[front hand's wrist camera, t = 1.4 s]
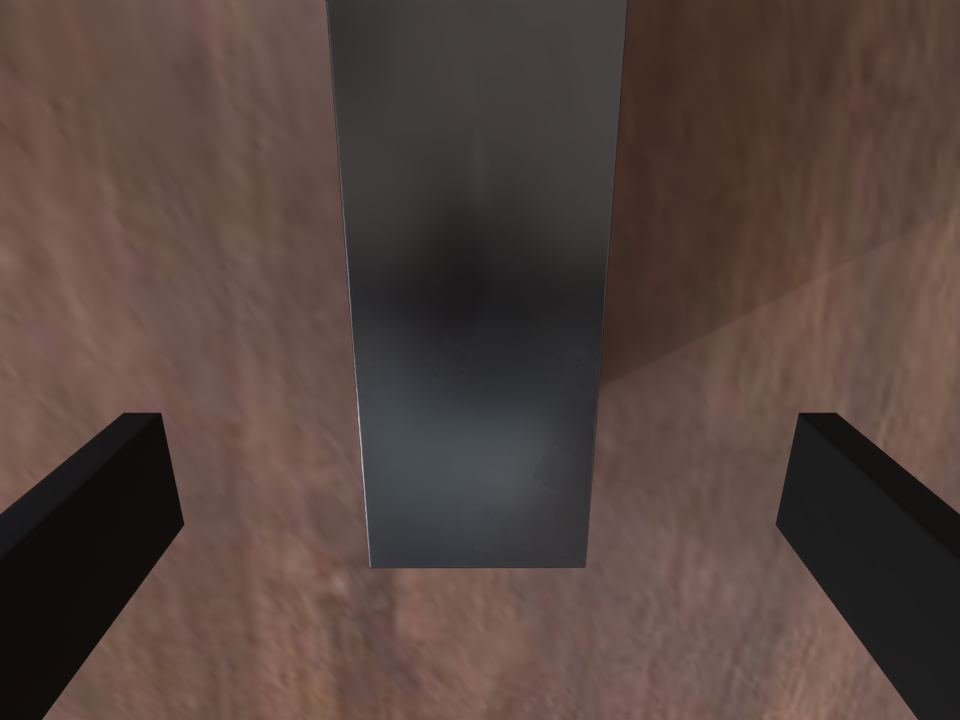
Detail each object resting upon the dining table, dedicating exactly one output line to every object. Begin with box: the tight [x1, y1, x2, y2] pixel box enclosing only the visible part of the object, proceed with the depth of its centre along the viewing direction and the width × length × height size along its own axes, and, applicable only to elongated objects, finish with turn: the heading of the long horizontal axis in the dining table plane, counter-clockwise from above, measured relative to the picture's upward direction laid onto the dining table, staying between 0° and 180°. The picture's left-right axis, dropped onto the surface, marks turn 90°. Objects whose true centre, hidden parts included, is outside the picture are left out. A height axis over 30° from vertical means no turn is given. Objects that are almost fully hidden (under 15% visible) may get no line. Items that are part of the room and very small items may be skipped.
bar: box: [326, 0, 628, 568], centre depth 17 cm, size 22×6×9 cm, turn 0°
